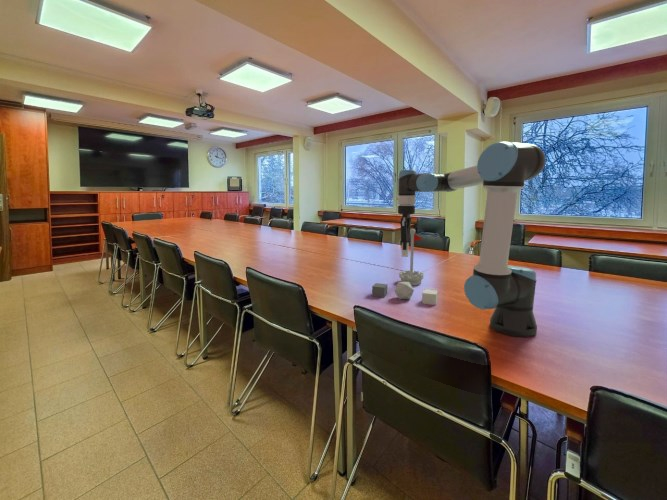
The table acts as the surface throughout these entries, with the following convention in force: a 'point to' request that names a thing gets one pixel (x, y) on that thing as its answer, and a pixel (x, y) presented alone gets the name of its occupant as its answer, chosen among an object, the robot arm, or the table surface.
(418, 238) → the flag stand
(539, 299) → the table surface
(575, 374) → the table surface
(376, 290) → the charcoal block
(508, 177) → the robot arm
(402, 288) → the die
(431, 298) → the off-white block
